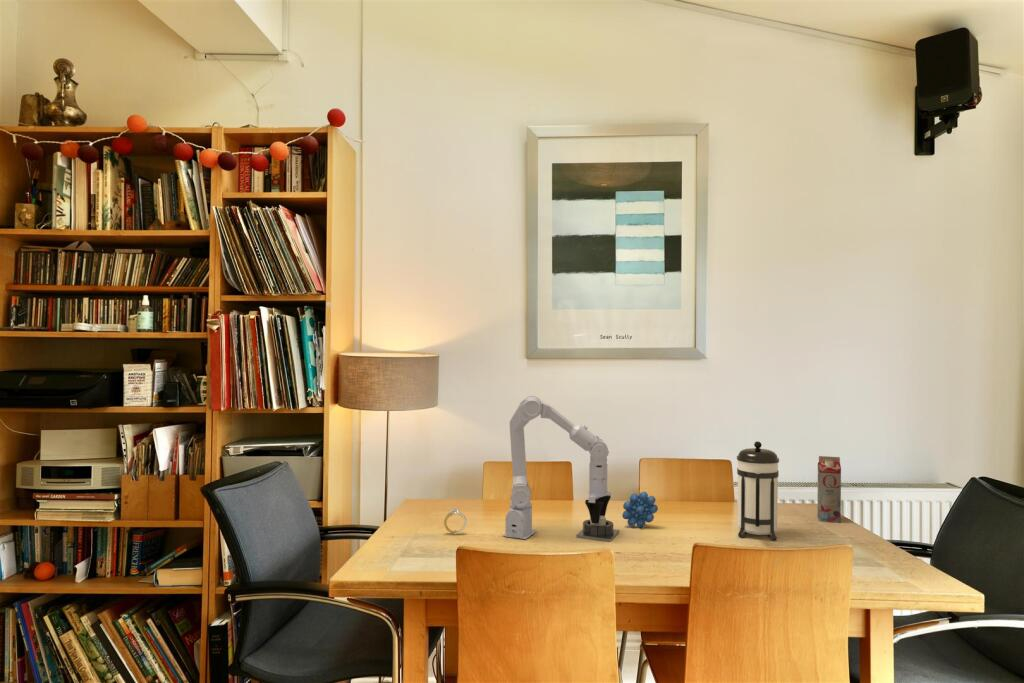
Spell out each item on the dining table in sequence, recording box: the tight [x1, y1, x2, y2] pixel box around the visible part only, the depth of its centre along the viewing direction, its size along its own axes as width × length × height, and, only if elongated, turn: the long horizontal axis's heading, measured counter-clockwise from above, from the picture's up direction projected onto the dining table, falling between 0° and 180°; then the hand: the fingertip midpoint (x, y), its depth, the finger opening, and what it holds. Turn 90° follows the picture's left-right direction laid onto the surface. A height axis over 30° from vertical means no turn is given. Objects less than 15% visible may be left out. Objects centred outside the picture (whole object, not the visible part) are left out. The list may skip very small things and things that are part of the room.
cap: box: [589, 515, 607, 526], centre depth 217 cm, size 5×5×5 cm
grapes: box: [621, 491, 659, 528], centre depth 227 cm, size 12×7×12 cm, turn 81°
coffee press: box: [736, 440, 780, 542], centre depth 216 cm, size 17×16×30 cm
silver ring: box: [443, 508, 467, 535], centre depth 217 cm, size 7×3×8 cm, turn 84°
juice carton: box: [816, 455, 842, 524], centre depth 236 cm, size 7×7×22 cm
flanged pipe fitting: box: [575, 519, 620, 543], centre depth 217 cm, size 11×11×4 cm
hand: (598, 520), depth 217 cm, fingers open, 6 cm apart
